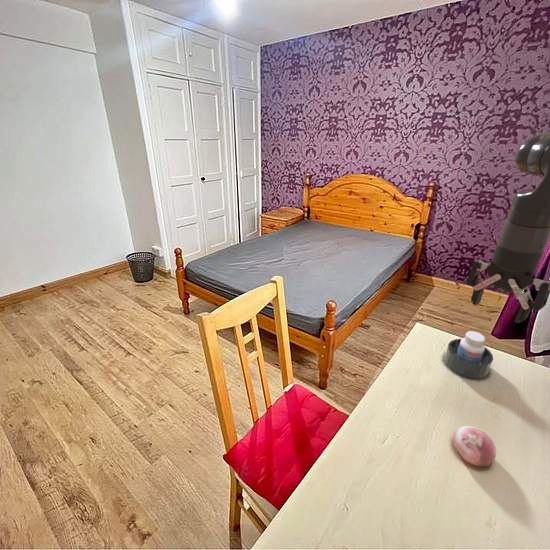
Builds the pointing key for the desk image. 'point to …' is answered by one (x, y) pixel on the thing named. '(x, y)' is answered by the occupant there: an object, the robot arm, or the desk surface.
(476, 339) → the pill bottle
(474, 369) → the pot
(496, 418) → the desk surface
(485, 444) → the onion
